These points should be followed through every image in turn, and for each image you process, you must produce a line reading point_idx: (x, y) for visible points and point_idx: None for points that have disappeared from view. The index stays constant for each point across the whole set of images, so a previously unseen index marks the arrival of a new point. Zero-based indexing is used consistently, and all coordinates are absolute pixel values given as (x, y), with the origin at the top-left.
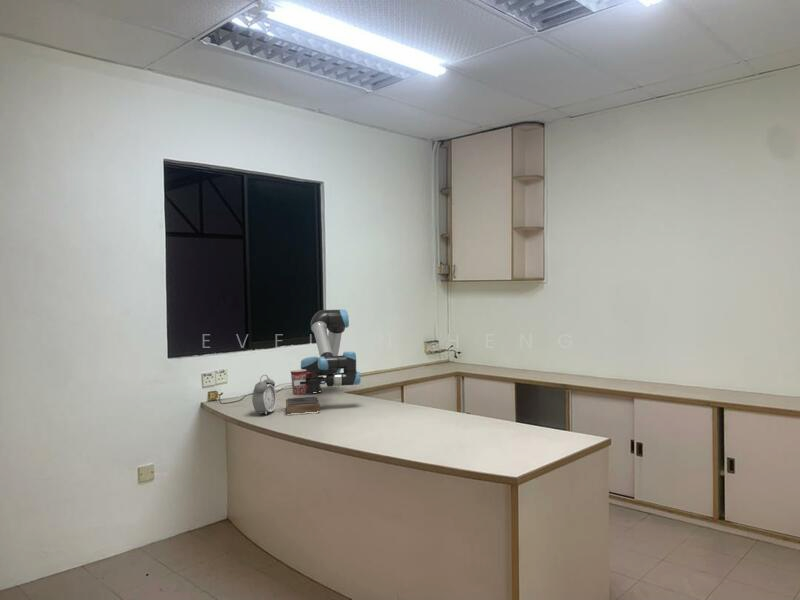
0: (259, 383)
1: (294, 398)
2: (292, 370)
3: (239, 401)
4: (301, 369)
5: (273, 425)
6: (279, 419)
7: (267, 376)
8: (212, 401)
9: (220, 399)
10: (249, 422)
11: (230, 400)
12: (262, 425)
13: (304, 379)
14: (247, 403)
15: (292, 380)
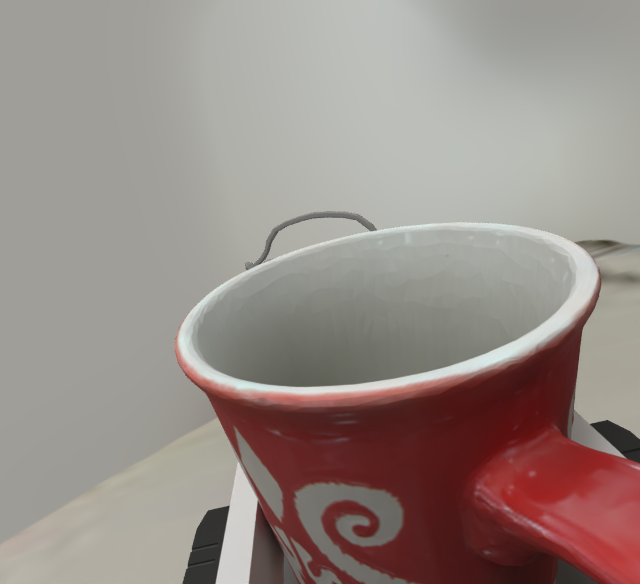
0: (246, 269)
1: (574, 568)
2: (426, 229)
3: (636, 286)
4: (575, 262)
5: (49, 554)
6: (177, 562)
7: (367, 226)
8: (583, 246)
9: (633, 245)
10: (200, 427)
11: (636, 264)
12: (100, 494)
13: (305, 566)
14: (608, 315)
15: (329, 383)
